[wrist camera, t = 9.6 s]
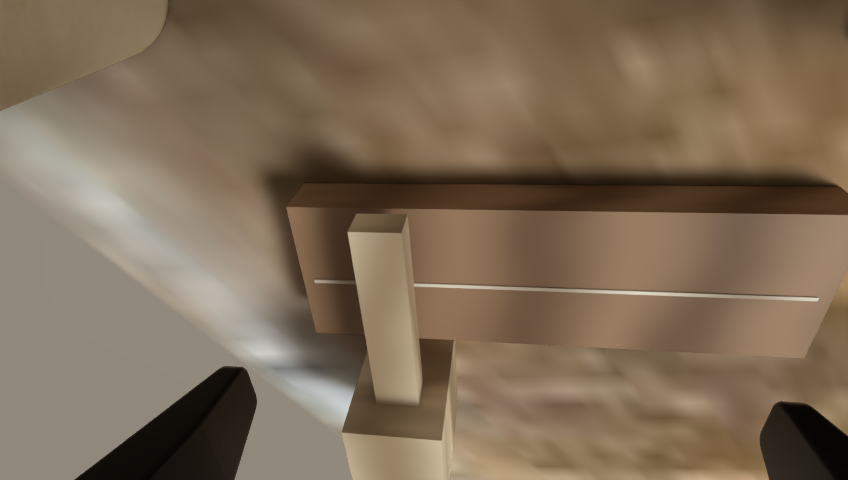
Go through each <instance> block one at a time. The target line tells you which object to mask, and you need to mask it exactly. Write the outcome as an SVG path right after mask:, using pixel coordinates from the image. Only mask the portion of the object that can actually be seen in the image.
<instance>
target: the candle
mask: <svg viewBox="0 0 848 480" xmlns="http://www.w3.org/2000/svg"><path fill="white" fill-rule="evenodd" d="M167 12H168V0H0V111H1V110H4V109H6V108H8V107H11V106H13V105H16V104H18V103H21V102H23V101H25V100H28V99H30V98H33V97H35V96H38V95H40V94H42V93H45V92H47V91H50V90H52V89H55V88H57V87H60V86H62V85H64V84H67V83H69V82H72V81H74V80H77V79H79V78H81V77H84V76H86V75H89V74H91V73H94V72H96V71H98V70H101V69H103V68H106V67H108V66H111V65H113V64H116V63H118V62H120V61H123V60H125V59H127V58H129V57H132V56H134V55H136V54H138V53H140V52H142V51H143V50H144V49H146V48H147V47H148V46H149V45H151V44H152V43H153V42H154V41H155V40H156V38H157V37H158V36H159V34H160V32H161V31H162V29H163V26H164V24H165V21H166V17H167Z"/></svg>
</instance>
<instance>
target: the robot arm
mask: <svg viewBox="0 0 848 480" xmlns="http://www.w3.org/2000/svg"><path fill="white" fill-rule="evenodd" d="M256 405H257V399H256V394H255V391H254V388H253V386H252V383H251V380H250V377H249V374H248V372H247V370H246V369H245V368H243V367H233V366H224V367H222V368H220V369H218V370H217V371H216V372H214V373H213V374H212V375H210V376H209V377H208V378H206V379H205V380H204V381H203V382H201V383H200V384H199V385H197V386H196V387H195V388H194V389H192V390H191V391H189V392H188V393H187V394H186V395H184V396H183V397H182V398H180V399H179V400H178V401H176V402H175V403H174V404H173V405H171V406H170V407H169V408H167V409H166V410H165V411H164V412H162V413H161V414H160V415H158V416H157V417H156V418H154V419H153V420H152V421H150V422H149V423H148V424H146V425H145V426H144V427H143V428H141V429H140V430H139V431H137V432H136V433H135V434H133V435H132V436H131V437H129V438H128V439H127V440H126V441H124V442H123V443H122V444H120V445H119V446H118V447H117V448H115V449H114V450H113V451H112V452H110V453H109V454H107V455H106V456H105V457H103V458H102V459H101V460H100V461H98V462H97V463H96V464H94V465H93V466H92V467H90V468H89V469H88V470H86V471H85V472H84V473H83V474H81V475H80V476H79V477H77V478H76V479H75V480H234V479H235V476H236V473H237V470H238V466H239V463H240V460H241V456H242V453H243V449H244V446H245V443H246V440H247V436H248V433H249V430H250V427H251V423H252V420H253V417H254V413H255V410H256ZM760 447H761V451H762V454H763V458H764V462H765V465H766V469H767V473H768V476H769V480H848V436H847V435H846V434H845V433H844V432H842V431H841V430H840V429H839V428H837V427H836V426H835V425H834V424H832V423H831V422H830V421H829V420H828V419H826V418H825V417H824V416H823V415H821V414H820V413H819V412H818V411H816V410H815V409H814V408H813V407H811V406H809V405H808V404H805V403H799V402H783V401H781V402H778V403H776V404H774V406H773V408H772V410H771V412H770V414H769V416H768V418H767V420H766V422H765V425H764V427H763V429H762V431H761V434H760Z"/></svg>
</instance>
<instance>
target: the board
mask: <svg viewBox="0 0 848 480" xmlns="http://www.w3.org/2000/svg"><path fill="white" fill-rule="evenodd" d="M286 209H287V213H288V217H289V221H290V226H291V230H292V234H293V238H294V242H295V246H296V251H297V255H298V259H299V263H300V267H301V271H302V275H303V280H304V284H305V288H306V292H307V296H308V300H309V305H310V309H311V313H312V317H313V321H314V325H315V329H316V333H328V334H347V335H365V332H364V327H363V321H362V315H361V309H360V303H359V297H358V291H357V285H356V279H355V273H354V268H353V262H352V256H351V250H350V244H349V238H348V230H349V228H350V226H351V224H352V222H353V220H354V218H355V216H356V214H408V225H409V236H410V247H411V257H412V268H413V279H414V290H415V301H416V312H417V323H418V334H419V338H424V339H444V340H463V341H482V342H501V343H521V344H540V345H559V346H579V347H598V348H617V349H636V350H656V351H675V352H694V353H713V354H733V355H752V356H771V357H791V358H804V357H805V355H806V353H807V351H808V349H809V347H810V345H811V343H812V341H813V339H814V337H815V335H816V333H817V331H818V329H819V327H820V325H821V322H822V320H823V318H824V316H825V314H826V312H827V310H828V308H829V306H830V304H831V302H832V300H833V298H834V296H835V294H836V292H837V290H838V288H839V286H840V284H841V281H842V279H843V277H844V275H845V273H846V271H847V269H848V193H847V192H846V191H844V190H843V189H842V188H841V187H788V186H638V185H489V184H340V183H303V185H302V186H301V187H300V189H299V190H298V191H297V193H296V194H295V196H294V197H293V198H292V200H291V201H290V202H289V204H288V205H287V207H286Z"/></svg>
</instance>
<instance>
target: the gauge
mask: <svg viewBox="0 0 848 480" xmlns="http://www.w3.org/2000/svg"><path fill="white" fill-rule="evenodd" d="M348 238H349V244H350V250H351V256H352V262H353V268H354V273H355V279H356V285H357V291H358V297H359V303H360V309H361V315H362V321H363V327H364V332H365V338H366V344H367V353H366V356H365V359H364V363H363V366H362V369H361V372H360V375H359V379H358V382H357V385H356V388H355V391H354V395H353V398H352V401H351V404H350V407H349V411H348V414H347V417H346V420H345V423H344V427H343V430H342V437H343V441H344V445H345V449H346V453H347V458H348V462H349V466H350V470H351V474H352V478H353V480H450V472H451V462H452V452H453V442H454V432H455V422H456V412H457V402H458V400H457V374H456V348H455V340H444V339H424V338H419V334H418V323H417V312H416V301H415V290H414V279H413V268H412V257H411V247H410V236H409V225H408V214H356V216H355V218H354V220H353V222H352V224H351V226H350V228H349V230H348Z"/></svg>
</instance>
